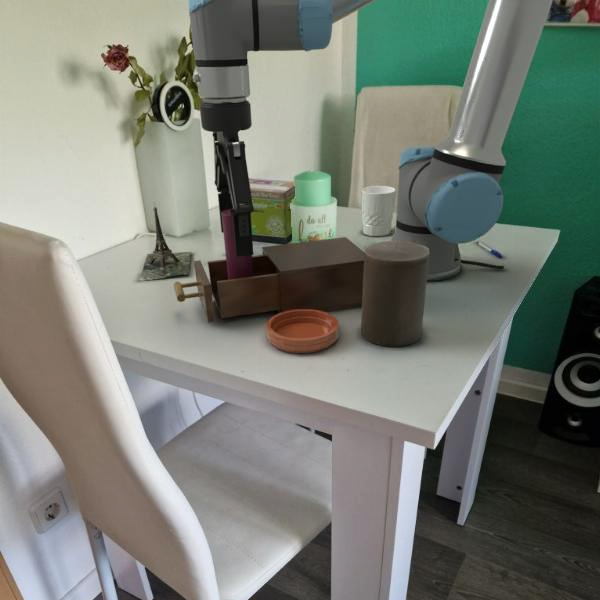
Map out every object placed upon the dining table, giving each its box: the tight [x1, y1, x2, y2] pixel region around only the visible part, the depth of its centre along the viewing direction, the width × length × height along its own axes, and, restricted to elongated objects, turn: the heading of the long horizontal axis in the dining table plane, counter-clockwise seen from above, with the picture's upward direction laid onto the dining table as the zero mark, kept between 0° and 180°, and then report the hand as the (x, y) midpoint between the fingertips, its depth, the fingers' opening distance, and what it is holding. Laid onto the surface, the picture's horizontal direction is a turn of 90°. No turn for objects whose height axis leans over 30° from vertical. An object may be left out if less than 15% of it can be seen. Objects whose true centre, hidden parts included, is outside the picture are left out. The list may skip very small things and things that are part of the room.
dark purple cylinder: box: [221, 209, 253, 280], centre depth 95 cm, size 4×4×15 cm
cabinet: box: [262, 236, 364, 314], centre depth 101 cm, size 16×13×8 cm
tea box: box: [229, 177, 295, 256], centre depth 122 cm, size 15×10×15 cm
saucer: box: [265, 309, 340, 354], centre depth 89 cm, size 11×11×2 cm
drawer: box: [173, 254, 281, 324], centre depth 97 cm, size 20×12×7 cm, turn 106°
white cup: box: [361, 185, 397, 237], centre depth 133 cm, size 8×8×10 cm
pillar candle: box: [360, 240, 429, 348], centre depth 86 cm, size 10×10×15 cm
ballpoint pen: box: [476, 241, 503, 259], centre depth 122 cm, size 10×1×1 cm, turn 14°
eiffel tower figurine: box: [139, 202, 192, 282], centre depth 116 cm, size 15×10×13 cm
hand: (236, 242), depth 94 cm, fingers open, 13 cm apart
